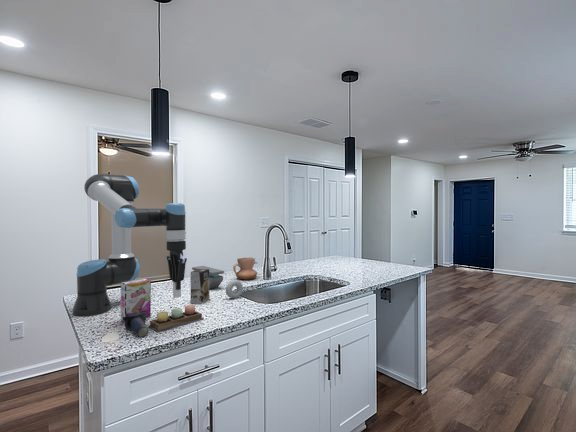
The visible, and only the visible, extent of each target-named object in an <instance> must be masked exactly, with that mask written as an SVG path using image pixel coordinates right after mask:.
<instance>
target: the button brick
mask: <svg viewBox="0 0 576 432" xmlns="http://www.w3.org/2000/svg"><path fill="white" fill-rule="evenodd" d="M195 311H196V306H195V304H189V305H185V306H184V312H185V314H193V313H195Z"/></svg>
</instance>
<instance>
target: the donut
mask: <svg viewBox="0 0 576 432" xmlns="http://www.w3.org/2000/svg"><path fill="white" fill-rule="evenodd" d="M234 287H236V290H235V291H233V289H234ZM243 289H244V285H243V283H242V282H241V280H240V279H232V280H231V281H229V282H228V283H227V285H226V287H225V294H226V296H227V297H229V298H230V299H237V298H239V297H240V296H241V295H242V293H243Z"/></svg>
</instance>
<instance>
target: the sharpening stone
mask: <svg viewBox="0 0 576 432" xmlns="http://www.w3.org/2000/svg"><path fill="white" fill-rule="evenodd" d="M198 269H209V290H210V289H215V288H219V286H220V285H221V284H222V282H223V281H224V275H223V274H225V271H224V270H222V269H218V268H214V267H210V266H205V265H199V266H192V267H191V270H192V271H195V270H198Z"/></svg>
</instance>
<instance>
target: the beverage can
mask: <svg viewBox="0 0 576 432" xmlns="http://www.w3.org/2000/svg"><path fill="white" fill-rule="evenodd" d="M146 312H147V311H142V312H141V313H137V314H132V315H129V314H126V315H125V316H126V317H123V321H126V322H125V323H124V322H123V321H122V322H123V323H124V329H125V331H127V332H128V331H131V330H132V331H133V332H134V333H135V335H137V336H138V337H140V338H141V337H142V338H143V337H145V336H147V335H148V333H149V330H150V328H149V327H148V326H149V325H147V324H146V322H147V318H148V317H147V313H146Z"/></svg>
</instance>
